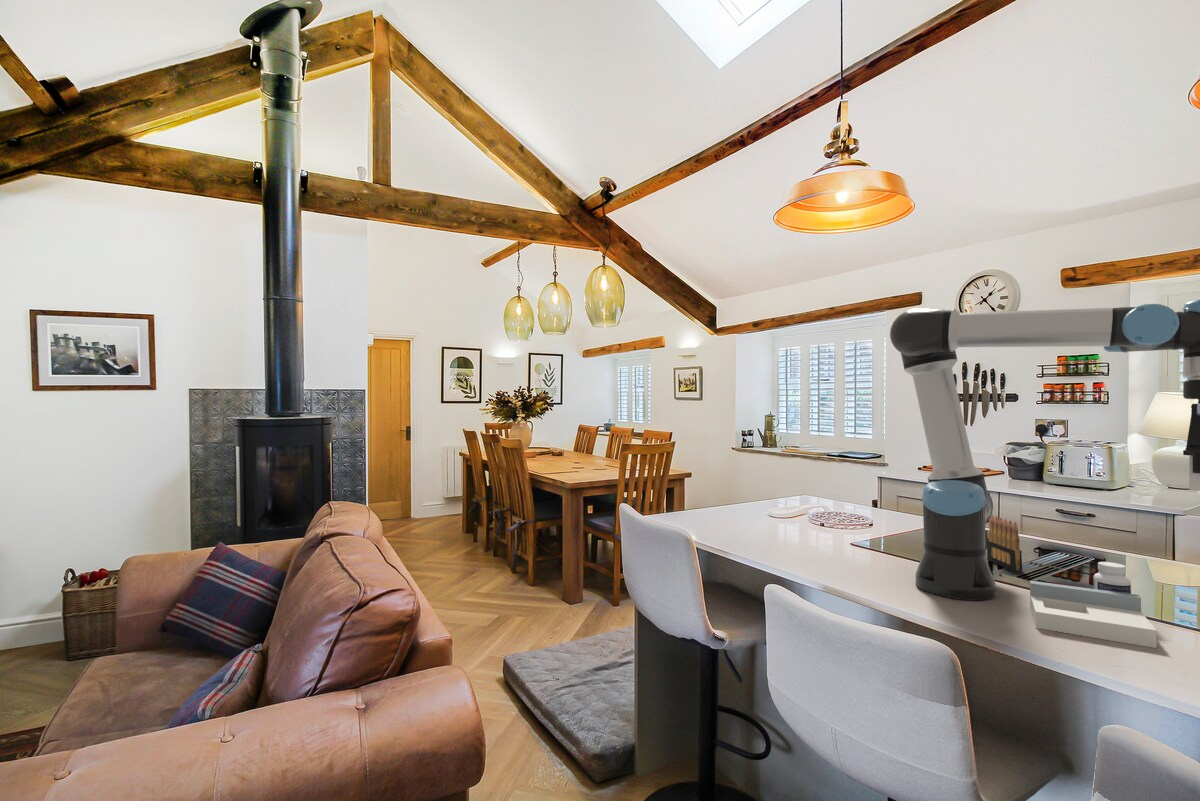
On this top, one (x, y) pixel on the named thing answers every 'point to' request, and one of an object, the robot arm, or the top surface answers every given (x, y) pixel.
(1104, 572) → the pill bottle
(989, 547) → the ammunition clip
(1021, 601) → the top surface
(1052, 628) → the white slotted tray
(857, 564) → the top surface
